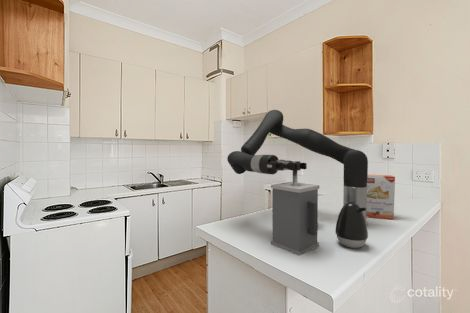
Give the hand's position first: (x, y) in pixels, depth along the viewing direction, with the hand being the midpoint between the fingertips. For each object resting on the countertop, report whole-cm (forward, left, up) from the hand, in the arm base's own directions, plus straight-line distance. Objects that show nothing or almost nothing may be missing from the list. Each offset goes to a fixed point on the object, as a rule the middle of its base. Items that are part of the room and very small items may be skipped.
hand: (301, 166), depth 79 cm
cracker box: (-59, +3, -28) cm, 65 cm away
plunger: (0, -3, -27) cm, 27 cm away
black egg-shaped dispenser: (-15, +10, -28) cm, 33 cm away
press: (0, -2, -28) cm, 28 cm away
